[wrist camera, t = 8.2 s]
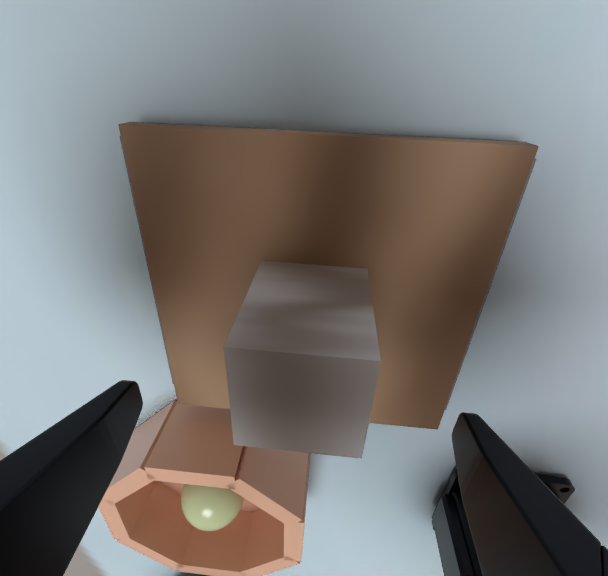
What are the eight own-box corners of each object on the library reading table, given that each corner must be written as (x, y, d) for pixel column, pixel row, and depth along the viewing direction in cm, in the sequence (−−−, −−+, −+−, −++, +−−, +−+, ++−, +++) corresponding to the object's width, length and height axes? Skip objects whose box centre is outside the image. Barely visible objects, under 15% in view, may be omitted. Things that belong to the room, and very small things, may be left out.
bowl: (313, 412, 19) (307, 484, 16) (305, 516, 25) (299, 586, 21) (121, 393, 20) (75, 459, 16) (155, 499, 25) (126, 564, 22)
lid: (526, 142, 11) (675, 192, 6) (433, 416, 18) (469, 545, 13) (131, 122, 12) (-18, 152, 7) (184, 391, 19) (127, 506, 14)
